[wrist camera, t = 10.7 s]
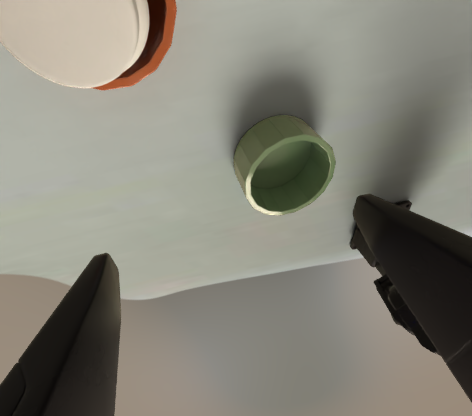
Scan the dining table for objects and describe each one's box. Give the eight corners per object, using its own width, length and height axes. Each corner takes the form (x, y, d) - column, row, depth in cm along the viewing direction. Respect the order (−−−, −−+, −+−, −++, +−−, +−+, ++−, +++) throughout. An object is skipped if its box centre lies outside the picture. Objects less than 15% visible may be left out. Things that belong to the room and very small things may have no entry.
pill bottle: (141, -63, 13) (144, -88, 7) (151, 50, 16) (158, 102, 10) (24, -82, 12) (-98, -131, 6) (59, 45, 15) (3, 101, 9)
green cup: (319, 107, 22) (343, 126, 19) (309, 181, 27) (327, 204, 24) (229, 124, 21) (242, 146, 18) (236, 198, 25) (247, 223, 23)
